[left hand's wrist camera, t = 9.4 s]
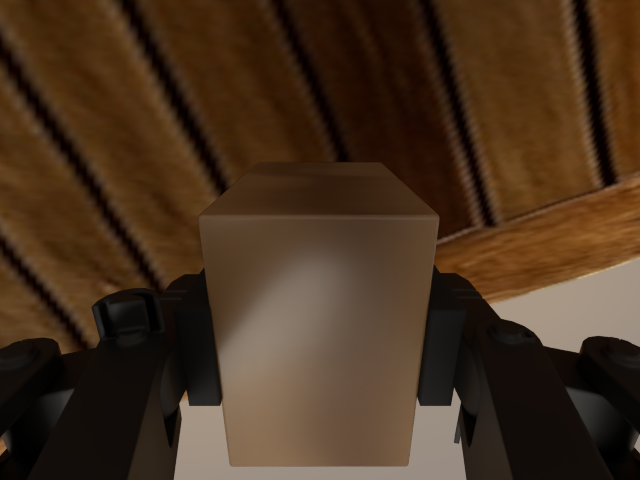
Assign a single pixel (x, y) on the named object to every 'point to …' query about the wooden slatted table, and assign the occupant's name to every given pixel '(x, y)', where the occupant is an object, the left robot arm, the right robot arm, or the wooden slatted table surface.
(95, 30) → the wooden slatted table surface
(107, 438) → the left robot arm
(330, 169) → the tan brown block
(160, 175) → the wooden slatted table surface
